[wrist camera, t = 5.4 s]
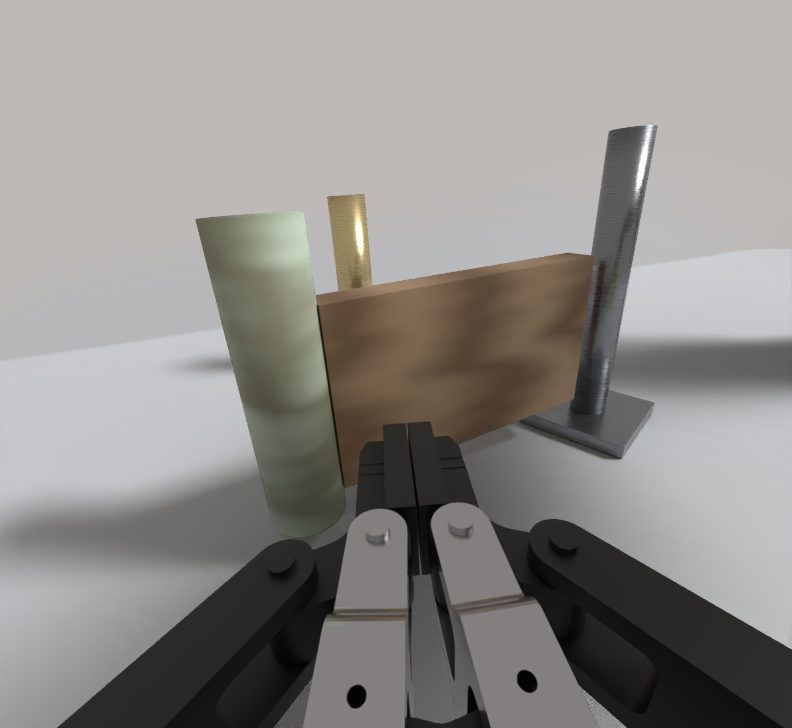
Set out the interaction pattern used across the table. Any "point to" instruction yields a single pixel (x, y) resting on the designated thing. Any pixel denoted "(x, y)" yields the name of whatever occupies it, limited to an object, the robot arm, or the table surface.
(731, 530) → the table surface
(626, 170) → the hinge post
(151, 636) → the table surface
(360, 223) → the post
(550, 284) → the gate
